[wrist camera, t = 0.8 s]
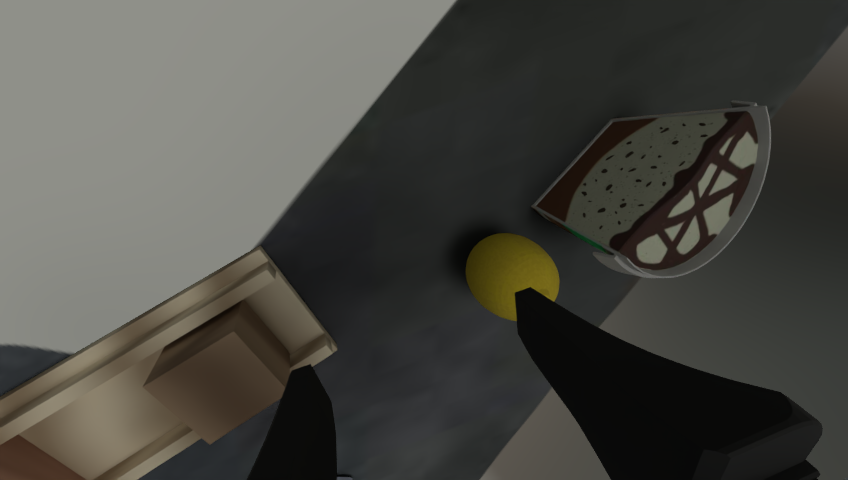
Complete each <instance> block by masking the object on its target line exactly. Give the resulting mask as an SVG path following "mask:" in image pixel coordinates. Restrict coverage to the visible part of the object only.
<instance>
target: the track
mask: <svg viewBox="0 0 848 480" xmlns="http://www.w3.org/2000/svg"><path fill="white" fill-rule="evenodd" d="M243 299H244V300H245V302H246V303H247V304H248V305H249V306H250V307H251V309H252V310H253V311H254V312H255V313H256V314H257V316H258V317H259V318H260V319H261V320H262V321H263V323H264V324H265V325H266V326H267V327H268V328H269V330H270V331H271V332H272V333H273V334H274V335H275V337H276V338H277V339H278V340H279V341H280V342H281V344H282V345H283V346H284V347H285V348H286V349H287V351H288V352H289V353H290V373H291V371H292V370H294V369H297V368H300V367H303V366H306V365H309V364H311V366H312V367H313V366H314V365H316V364H317V363H319V362H320V361H322V360H323V359H325V358H327V357H328V356H330V355H331V354H333V353H334V352H335V351H337V350H338V349H337V345H336V343H335V341H334V340H333V339H332V338H331V336H330V335H329V334H328V332H327V331H326V330H325V328H324V327H323V326H322V325H321V323H320V322H319V321H318V319H317V318H316V317H315V315H314V314H313V313H312V312H311V310H310V309H309V308H308V306H307V305H306V304H305V302H304V301H303V300H302V299H301V297H300V296H299V295H298V293H297V292H296V291H295V289H294V288H293V287H292V286H291V284H290V283H289V282H288V280H287V279H286V278H285V277H284V275H283V274H282V273H281V271H280V270H279V269H278V267H277V266H276V265H275V264H274V262H273V261H272V260H271V258H270V257H269V256H268V254H267V253H266V252H265V251H264V249H263V248H262V247H261V245H260V246H258V247H256V248H255V249H253V250H251V251H250V252H248V253H246V254H244V255H243V256H241V257H240V258H238V259H236V260H234V261H233V262H231V263H229V264H227V265H226V266H224V267H222V268H220V269H219V270H217V271H215V272H214V273H212V274H210V275H208V276H207V277H205V278H203V279H202V280H200V281H198V282H196V283H195V284H193V285H191V286H190V287H188V288H186V289H184V290H183V291H181V292H180V293H177V294H176V295H174V296H173V297H171V298H169V299H167V300H166V301H164V302H162V303H160V304H159V305H157V306H155V307H153V308H152V309H150V310H149V311H147V312H145V313H143V314H142V315H140V316H138V317H136V318H135V319H133V320H131V321H130V322H128V323H126V324H124V325H123V326H121V327H119V328H117V329H116V330H114V331H112V332H111V333H109V334H107V335H105V336H104V337H102V338H100V339H99V340H97V341H95V342H94V343H92V344H90V345H88V346H87V347H85V348H83V349H81V350H80V351H78V352H76V353H75V354H73V355H71V356H69V357H68V358H66V359H64V360H63V361H61V362H59V363H57V364H56V365H54V366H52V367H50V368H49V369H47V370H45V371H44V372H42V373H40V374H38V375H37V376H35V377H33V378H32V379H30V380H28V381H26V382H25V383H23V384H21V385H20V386H18V387H16V388H14V389H13V390H11V391H9V392H8V393H6V394H4V395H2V396H1V397H0V480H137V479H139V478H140V477H142V476H143V475H145V474H146V473H148V472H150V471H151V470H153V469H154V468H156V467H157V466H159V465H160V464H162V463H164V462H165V461H167V460H168V459H170V458H171V457H173V456H174V455H176V454H178V453H179V452H181V451H182V450H184V449H185V448H187V447H188V446H190V445H191V444H193V443H195V442H196V441H198V440H199V439H201V437H200V436H199V435H198V434H197V433H196V432H194V431H193V430H192V429H191V428H190V427H189V426H187V425H186V424H185V423H184V422H183V421H182V420H180V419H179V418H178V417H177V416H176V415H175V414H173V413H172V412H171V411H170V410H169V409H168V408H166V407H165V406H164V405H163V404H162V403H161V402H159V401H158V400H157V399H156V398H155V397H154V396H152V395H151V394H150V393H149V392H148V391H147V390H145V389H144V388H143V385H144V383H145V382H146V380H147V378H148V376H149V374H150V372H151V371H152V369H153V367H154V365H155V363H156V361H157V360H158V358H159V356H160V354H161V352H162V350H163V349H164V347H165V346H166V345H168V344H169V343H171V342H173V341H174V340H176V339H178V338H179V337H181V336H183V335H184V334H186V333H188V332H189V331H191V330H193V329H194V328H196V327H198V326H199V325H201V324H203V323H204V322H206V321H208V320H209V319H211V318H213V317H214V316H216V315H218V314H219V313H221V312H223V311H224V310H226V309H228V308H229V307H231V306H233V305H234V304H236V303H238V302H239V301H241V300H243Z"/></svg>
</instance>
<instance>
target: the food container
mask: <svg viewBox="0 0 848 480" xmlns="http://www.w3.org/2000/svg"><path fill="white" fill-rule="evenodd" d="M731 105H732V108H725V109H714V110H703V111H692V112H681V113H670V114H659V115H648V116H637V117H626V118H615V119H611V120H610V121H609V122H608V123H607V124H606V125H605V126H604V128H603V129H602V130H601V131H600V132H599V133H598V134H597V135H596V136H595V137H594V138H593V140H592V141H591V142H590V143H589V144H588V145H587V146H586V147H585V148H584V149H583V150H582V152H581V153H580V154H579V155H578V156H577V157H576V158H575V159H574V160H573V161H572V162H571V164H570V165H569V166H568V167H567V168H566V169H565V170H564V171H563V172H562V173H561V174H560V175H559V177H558V178H557V179H556V180H555V181H554V182H553V183H552V184H551V185H550V186H549V187H548V189H547V190H546V191H545V192H544V193H543V194H542V195H541V196H540V197H539V198H538V199H537V201H536V202H535V203H534V204H533V205H532V206H531V207H532V208H533V209H534V210H535V211H536V212H537V213H538V214H539V215H540V216H542V217H544V218H545V219H547V220H549V221H551V222H552V223H554V224H556V225H558V226H559V227H561V228H563V229H564V230H566V231H568V232H570V233H571V234H573V235H575V236H577V237H578V238H580V239H582V240H584V241H585V242H587V243H589V244H590V245H592V246H594V247H596V248H597V249H599V250H601V251H603V252H604V253H606V254H603V253H598V252H593V255H594V256H595V257H596V258H597V259H598V260H599V261H600V262H601V263H603V264H604V265H606V266H607V267H609V268H610V269H613V270H616V271H618V272H621V273H626V274H631V275H636V276H640V277H647V278H672V277H677V276H681V275H685V274H688V273H690V272H692V271H694V270H696V269H698V268H700V267H701V266H703V265H705V264H706V263H708V262H709V261H710V260H712V259H713V258H714V257H715V256H716V255H718V254H719V253H720V252H721V251H722V250H723V249H724V248H725V247H726V246H727V245H728V244H729V243H730V242H731V240H732V239H733V238H734V237H735V236H736V234H737V233H738V232H739V230H740V229H741V227H742V226H743V224H744V223H745V221H746V220H747V218H748V216H749V214H750V212H751V211H752V209H753V207H754V205H755V203H756V200H757V198H758V196H759V194H760V191H761V188H762V185H763V182H764V179H765V175H766V172H767V168H768V163H769V156H770V149H771V128H770V119H769V114H768V110H767V106H757V103H753V102H744V101H735V100H733V101H732V102H731Z"/></svg>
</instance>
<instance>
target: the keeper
mask: <svg viewBox="0 0 848 480" xmlns="http://www.w3.org/2000/svg"><path fill="white" fill-rule="evenodd" d="M289 375H290V353H289V352H288V351H287V349H286V348H285V347H284V346H283V345H282V344H281V342H280V341H279V340H278V339H277V338H276V337H275V335H274V334H273V333H272V332H271V331H270V330H269V328H268V327H267V326H266V325H265V324H264V323H263V321H262V320H261V319H260V318H259V317H258V316H257V314H256V313H255V312H254V311H253V310H252V309H251V307H250V306H249V305H248V304H247V303H246V302H245V300H244V299H243V300H241V301H239V302H238V303H236V304H234V305H233V306H231V307H229V308H228V309H226V310H224V311H223V312H221V313H219V314H218V315H216V316H214V317H213V318H211V319H209V320H208V321H206V322H204V323H203V324H201V325H199V326H198V327H196V328H194V329H193V330H191V331H189V332H188V333H186V334H184V335H183V336H181V337H179V338H178V339H176V340H174V341H173V342H171V343H169V344H168V345H166V346H165V347H164V349H163V350H162V352H161V354H160V356H159V358H158V360H157V361H156V363H155V365H154V367H153V369H152V371H151V372H150V374H149V376H148V378H147V380H146V382H145V383H144V385H143V388H144V389H145V390H147V391H148V392H149V393H150V394H151V395H152V396H154V397H155V398H156V399H157V400H158V401H159V402H161V403H162V404H163V405H164V406H165V407H166V408H168V409H169V410H170V411H171V412H172V413H173V414H175V415H176V416H177V417H178V418H179V419H180V420H182V421H183V422H184V423H185V424H186V425H187V426H189V427H190V428H191V429H192V430H193V431H194V432H196V433H197V434H198V435H199V436H200V437H201V438H202V439H204V440H205V441H206V442H207V443H208V444H209V445H210V444H211V443H213V442H214V441H216V440H217V439H219V438H220V437H222V436H224V435H225V434H227V433H228V432H230V431H231V430H233V429H234V428H236V427H237V426H239V425H240V424H242V423H244V422H245V421H247V420H248V419H250V418H251V417H253V416H254V415H256V414H257V413H259V412H261V411H262V410H264V409H265V408H267V407H268V406H270V405H271V404H273V403H274V402H276V401H277V400H279V399H281V398H282V395H283V392H284V390H285V387H286V384H287V381H288V378H289Z"/></svg>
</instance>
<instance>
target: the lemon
mask: <svg viewBox="0 0 848 480" xmlns="http://www.w3.org/2000/svg"><path fill="white" fill-rule="evenodd" d="M465 271H466V279H467V283H468V285H469V288H470V290H471V292H472V294H473V295H474V297H475V298H476V299H477V300H478V302H479V303H480V304H481V305H482V306H483V307H485V308H486V309H488V310H489V311H491V312H492V313H494V314H496V315H497V316H500V317H502V318H505V319H509V320H513V321H517V317H516V305H515V292H518V291H521V290H524V289H526V288H529V287H531V288H533V289H535V290H536V291H538V292H539V293H541V294H543V295H544V296H546V297H547V298H549V299H550V300H552V301H555V299H556V297H557V294H558V290H559V275H558V271H557V268H556V266H555V264H554V262H553V260H552V259H551V258H550V256H549V255H548V254H547V253H546V252H545V251H544V250H543V249H542V248H541V247H540V246H539V245H538V244H536V243H534V242H533V241H531V240H529V239H528V238H526V237H523V236H520V235H516V234H511V233H498V234H494V235H491V236H488V237H486V238H485V239H483V240H481V241H480V242H479V243H478V244H477V245H476V246H475V247H474V248H473V249H472V251H471V252H470V254H469V257H468V259H467V263H466V270H465Z"/></svg>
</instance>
